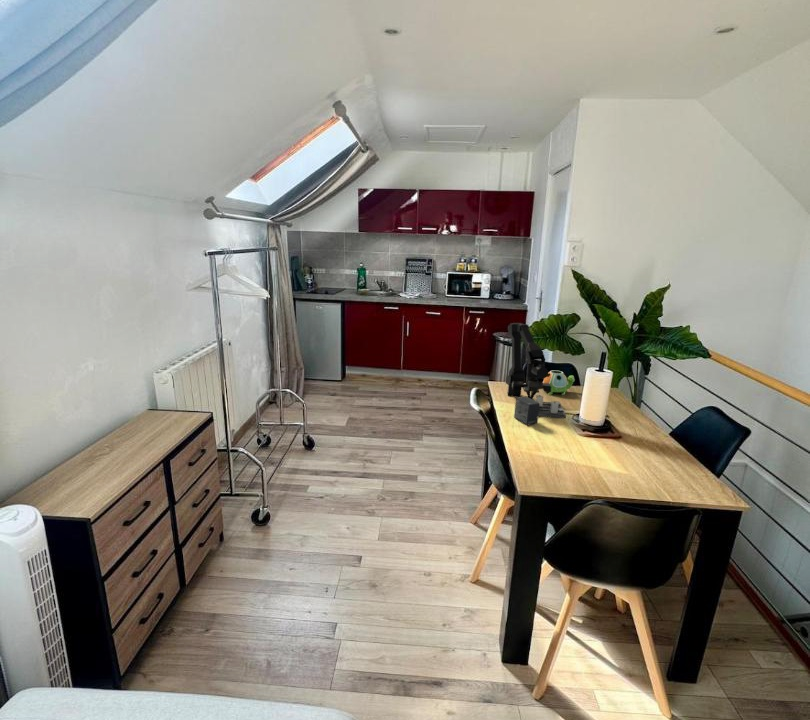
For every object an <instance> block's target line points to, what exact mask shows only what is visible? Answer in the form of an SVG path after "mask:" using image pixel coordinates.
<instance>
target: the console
mask: <svg viewBox="0 0 810 720" xmlns="http://www.w3.org/2000/svg"><path fill="white" fill-rule="evenodd" d="M555 402H558V413H557V414H556V413H551V412H550V407H551V401H543V405H542V406H539V413H538V418H539V417H541V418H554V419H567V414H566V412H565V410H564V407H563V406H562V403H561V402H560V401H557V400H555Z"/></svg>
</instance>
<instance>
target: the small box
mask: <svg viewBox="0 0 810 720" xmlns="http://www.w3.org/2000/svg"><path fill="white" fill-rule="evenodd" d="M514 403H515V404H514V405H515V406H514V416H513V419H515V420H517V421H518V422H521V424H523V425H524V426H534V425H537V424H538V420H539V416H538V413H539V404H540V403H538V402H536V400H534V399H530V398H528V396H520V397H515V402H514Z"/></svg>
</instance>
